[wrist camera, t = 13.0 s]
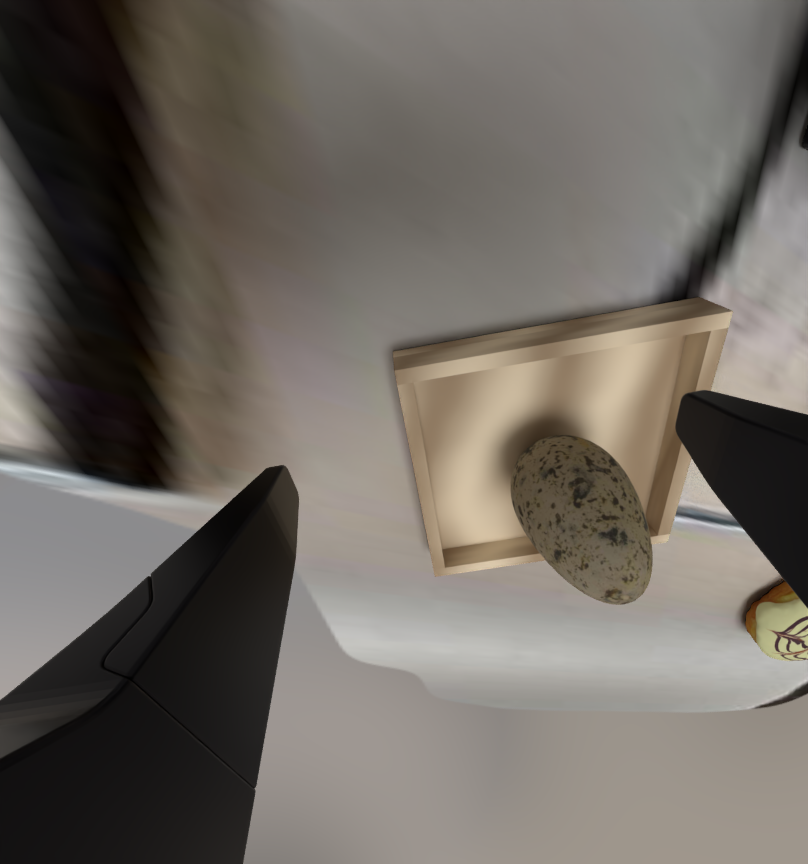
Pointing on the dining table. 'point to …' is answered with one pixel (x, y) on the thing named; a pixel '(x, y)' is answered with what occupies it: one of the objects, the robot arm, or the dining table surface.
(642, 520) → the decorative egg
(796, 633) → the decorated donut
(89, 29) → the dining table surface
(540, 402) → the wooden tray
